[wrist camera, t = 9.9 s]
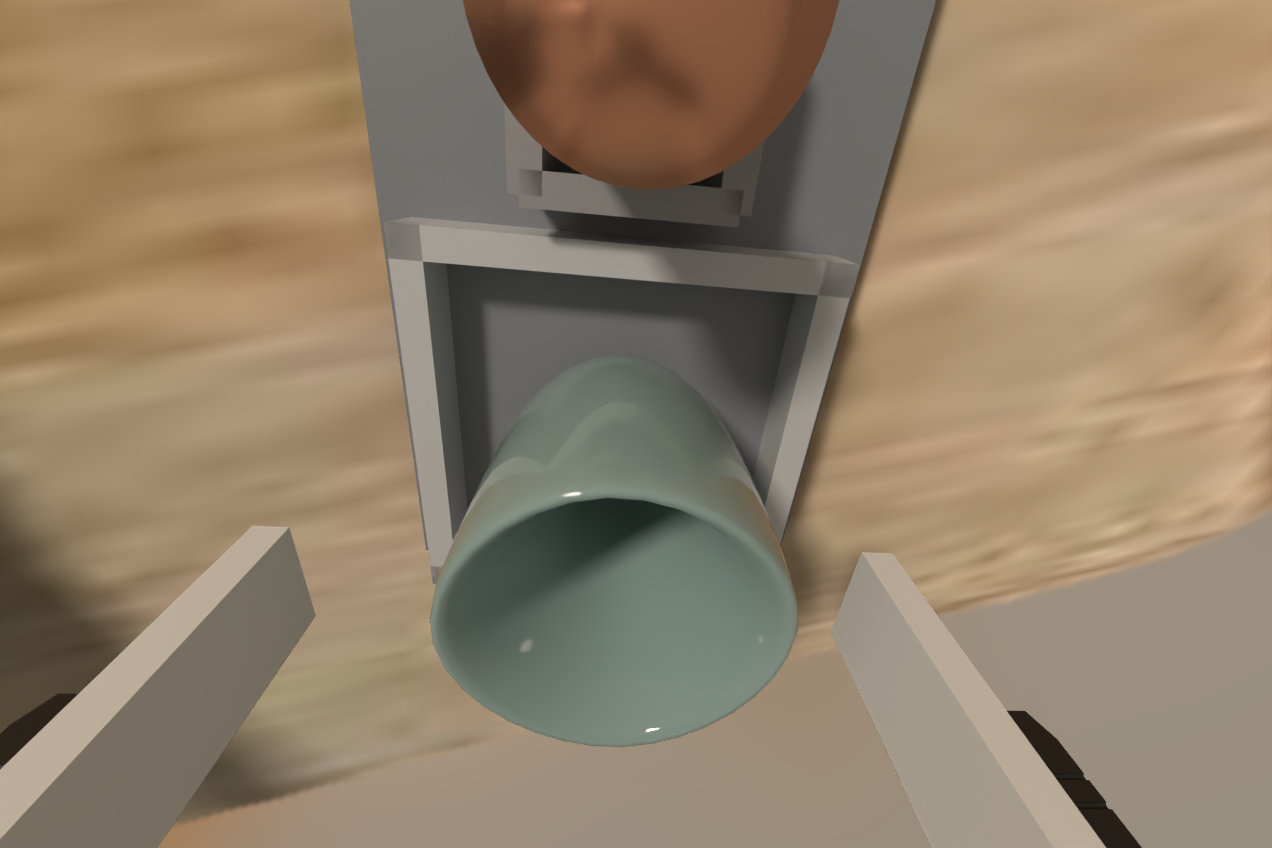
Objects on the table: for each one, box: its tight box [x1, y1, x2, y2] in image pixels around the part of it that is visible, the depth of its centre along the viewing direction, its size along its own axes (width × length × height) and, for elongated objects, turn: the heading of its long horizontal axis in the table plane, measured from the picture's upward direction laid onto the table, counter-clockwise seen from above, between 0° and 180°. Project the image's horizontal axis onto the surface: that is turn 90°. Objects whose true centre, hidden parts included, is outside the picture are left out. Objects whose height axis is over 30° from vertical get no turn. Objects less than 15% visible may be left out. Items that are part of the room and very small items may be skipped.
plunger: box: [463, 0, 840, 190], centre depth 9 cm, size 5×5×6 cm
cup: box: [430, 354, 798, 747], centre depth 15 cm, size 8×8×10 cm
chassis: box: [349, 0, 936, 584], centre depth 16 cm, size 16×23×5 cm
